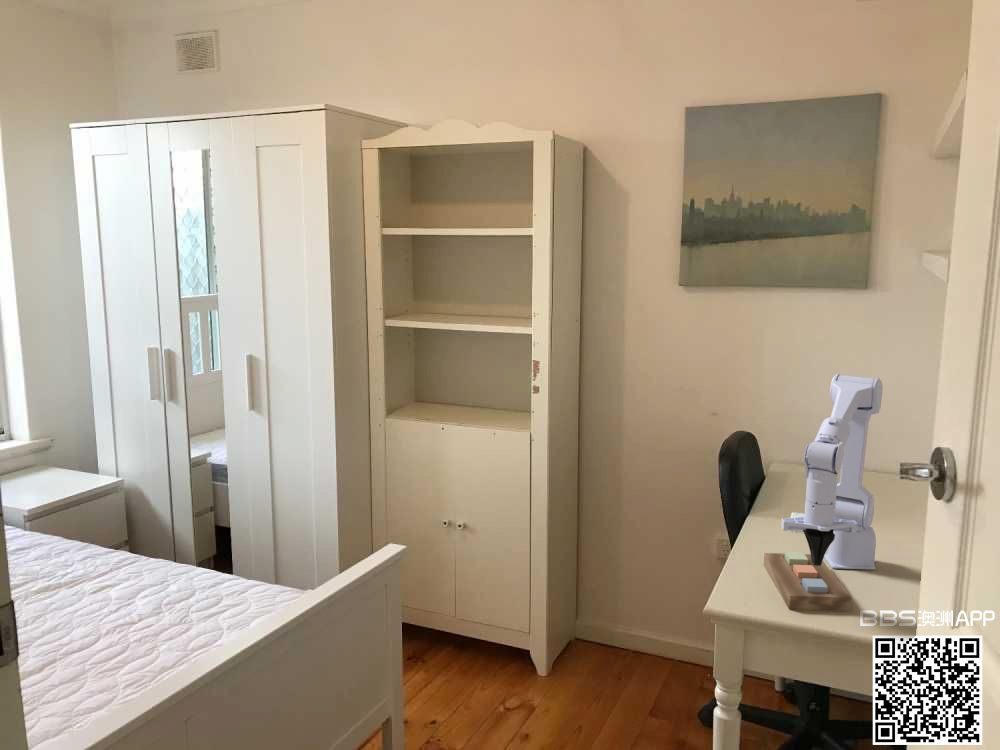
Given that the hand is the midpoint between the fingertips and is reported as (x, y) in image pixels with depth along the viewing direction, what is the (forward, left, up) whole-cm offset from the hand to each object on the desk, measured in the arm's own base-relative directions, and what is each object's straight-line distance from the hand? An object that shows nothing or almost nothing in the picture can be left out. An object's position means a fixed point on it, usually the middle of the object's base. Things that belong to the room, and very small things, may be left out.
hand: (816, 563), depth 167 cm
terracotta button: (0, -7, -7) cm, 10 cm away
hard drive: (-11, -45, -9) cm, 47 cm away
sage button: (0, -14, -7) cm, 15 cm away
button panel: (0, -7, -8) cm, 11 cm away
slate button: (0, 0, -7) cm, 7 cm away
